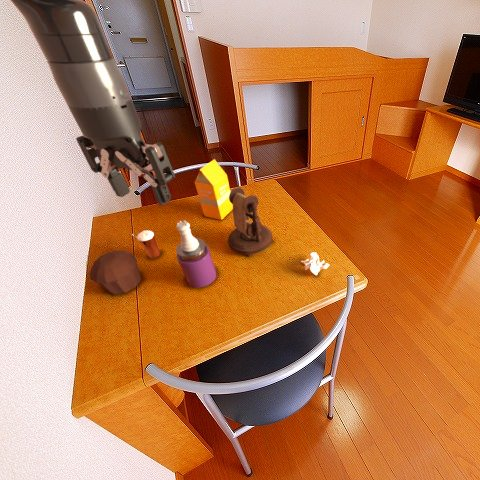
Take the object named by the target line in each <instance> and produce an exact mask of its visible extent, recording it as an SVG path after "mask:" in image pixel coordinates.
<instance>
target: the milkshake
mask: <svg viewBox="0 0 480 480" xmlns="http://www.w3.org/2000/svg"><path fill="white" fill-rule="evenodd" d="M130 234H131V235H132V236H133V237H135V238H136V239H137V241H138V242H139V244H140V245H141V246H142V248H143V249H144V251H145V252H146V254H147V256H148V257H149V258H150V259H157V258H159V257H160V256H161V251H160V248H159V245H158V242H157V240H156V236H155V233H154V231H152V230H142V231H141V232H139V233H138V234H137V236H136V235H135V234H134V233H132V232H131V233H130Z"/></svg>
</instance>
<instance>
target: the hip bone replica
mask: <svg viewBox="0 0 480 480" xmlns="http://www.w3.org/2000/svg"><path fill="white" fill-rule="evenodd" d="M309 257H310V258H308V259H305V260H301V261H300V263H302V264H304V269H305V271H307V270H310V272H311V273H312V274H313V275H314V276H318V273H319V272H320V271H321V270H322V269H323V270H326V269H328V267H330V264H329V263H327V262H326V263H325V260H322V261H320V257H319V255H318V253H317V251H316V252H315V251H314V252H310V253H309ZM323 264H324V265H323Z"/></svg>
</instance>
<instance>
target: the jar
mask: <svg viewBox="0 0 480 480" xmlns="http://www.w3.org/2000/svg"><path fill="white" fill-rule="evenodd" d="M206 247H207V252H206V254H205V255H204V256H203V257H201V258H200V259H198V260H195V261H183V260H181V259H180V258H179V257H178V255H177V254H176V259H177V261H178V264H179V266H180V270H181V271H182V273H183V276H184V278H185V281H186V283H187V284H188V286H190V287H192V288H199V289H200V288H205V287H207V286H209V285H211V284H212V283H213V282H214V281H215V280H216V278H217V275H218V273H217V269H216V266H215V263H214V260H213V256H212V253H211V251H210V247H209V246H208V245H207V244H206Z"/></svg>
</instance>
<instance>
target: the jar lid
mask: <svg viewBox="0 0 480 480" xmlns="http://www.w3.org/2000/svg"><path fill="white" fill-rule="evenodd" d="M195 238H196V239H197V240H198V243H199V246H198V248H197V249H196V250H194V251H191V252H186V251H184V250H182V247H181V242H179V244H178V245H177V246H176V248H175V252H176V256H177V255H178V257H179V258H180V259H181V260H183V261H195V260H198V259H200V258H201V257H203V256H204V255H205V254H206V252H207V247H206V245H207V244H206V242H205V240H203V238H199V237H195Z"/></svg>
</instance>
